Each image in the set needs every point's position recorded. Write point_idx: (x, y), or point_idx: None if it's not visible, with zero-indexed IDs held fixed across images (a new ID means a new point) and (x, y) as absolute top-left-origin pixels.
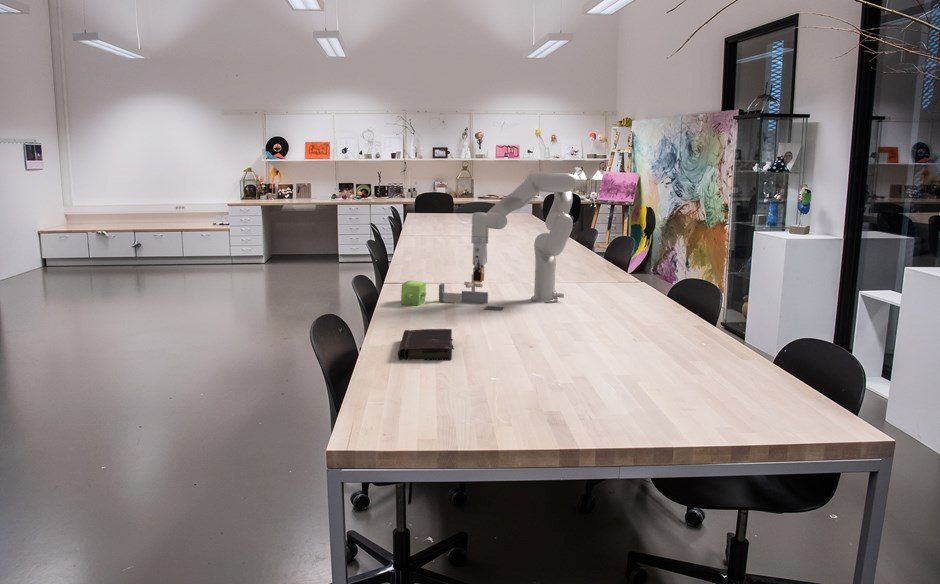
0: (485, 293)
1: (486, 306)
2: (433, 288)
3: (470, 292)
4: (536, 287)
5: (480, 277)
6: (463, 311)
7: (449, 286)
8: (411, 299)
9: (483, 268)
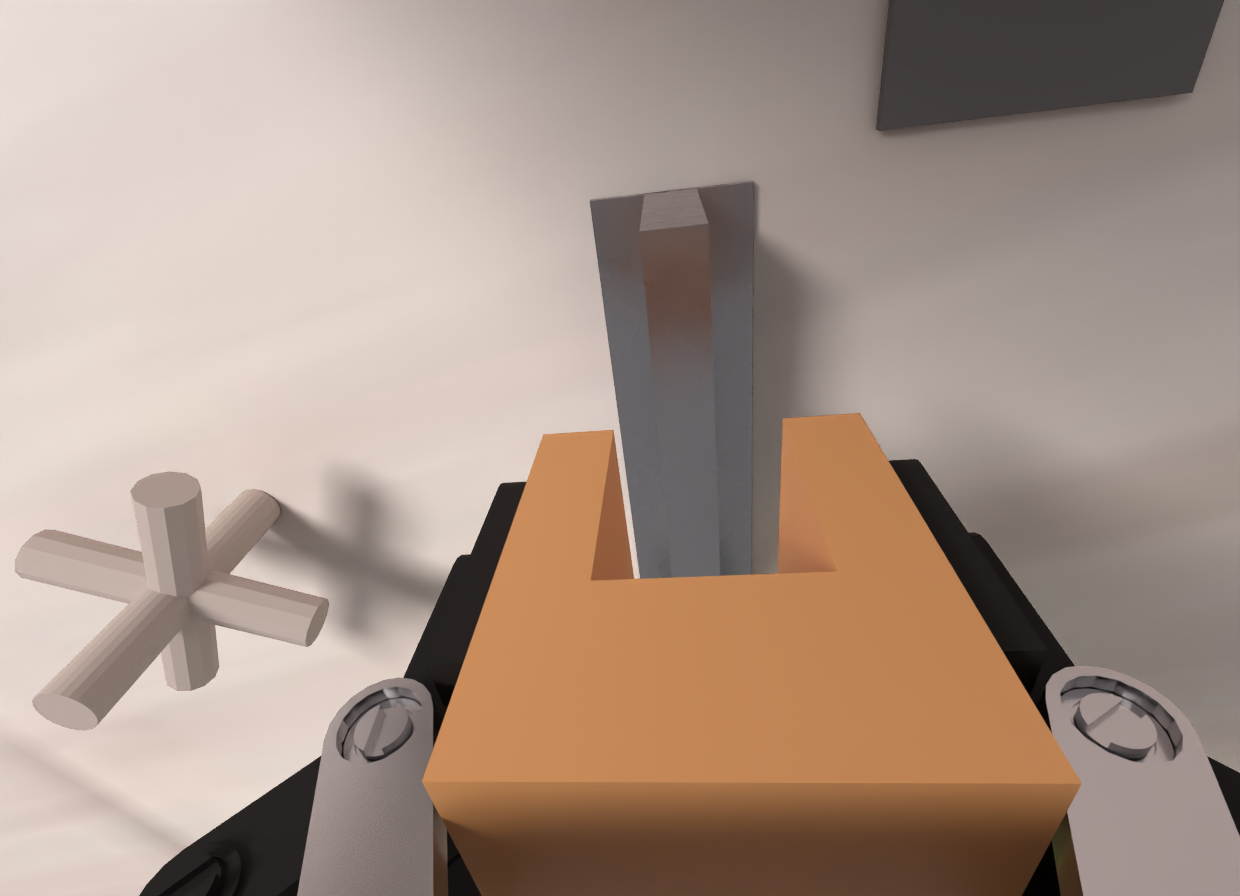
0: (709, 257)
1: (920, 125)
2: (270, 784)
3: (715, 492)
4: None
5: (948, 514)
6: (1216, 350)
7: (113, 730)
8: None
9: (659, 733)
